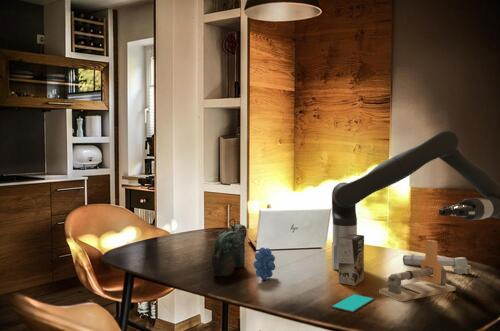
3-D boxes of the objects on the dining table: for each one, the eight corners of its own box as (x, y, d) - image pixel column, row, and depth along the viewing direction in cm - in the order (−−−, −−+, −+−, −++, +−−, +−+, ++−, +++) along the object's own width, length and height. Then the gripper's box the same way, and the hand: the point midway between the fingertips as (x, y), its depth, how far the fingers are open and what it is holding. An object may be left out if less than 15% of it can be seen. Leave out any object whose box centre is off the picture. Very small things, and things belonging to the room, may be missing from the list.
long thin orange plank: (436, 284, 164) (437, 242, 164) (421, 279, 171) (421, 239, 170) (441, 283, 165) (441, 242, 165) (425, 278, 171) (425, 238, 171)
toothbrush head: (407, 253, 204) (470, 254, 188) (408, 269, 204) (472, 272, 187) (401, 255, 200) (466, 256, 184) (403, 272, 200) (468, 274, 183)
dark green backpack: (237, 264, 202) (236, 215, 201) (250, 266, 199) (250, 216, 197) (208, 276, 185) (208, 222, 184) (223, 278, 181) (223, 223, 180)
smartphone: (330, 306, 150) (353, 293, 162) (330, 309, 150) (353, 296, 162) (353, 311, 145) (374, 298, 157) (353, 314, 145) (374, 301, 157)
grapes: (264, 285, 172) (264, 251, 172) (249, 282, 176) (249, 248, 176) (283, 278, 181) (283, 245, 181) (268, 275, 186) (268, 243, 185)
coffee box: (355, 286, 172) (356, 239, 171) (337, 283, 175) (338, 237, 174) (364, 279, 180) (364, 235, 179) (347, 277, 183) (347, 233, 182)
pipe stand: (401, 301, 155) (401, 277, 155) (379, 292, 164) (379, 270, 164) (455, 290, 166) (455, 268, 166) (432, 282, 175) (432, 261, 175)
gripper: (460, 196, 182) (425, 199, 174) (492, 200, 170) (457, 203, 162) (460, 216, 182) (425, 220, 175) (492, 222, 171) (456, 226, 163)
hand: (440, 212), depth 168 cm, fingers closed
